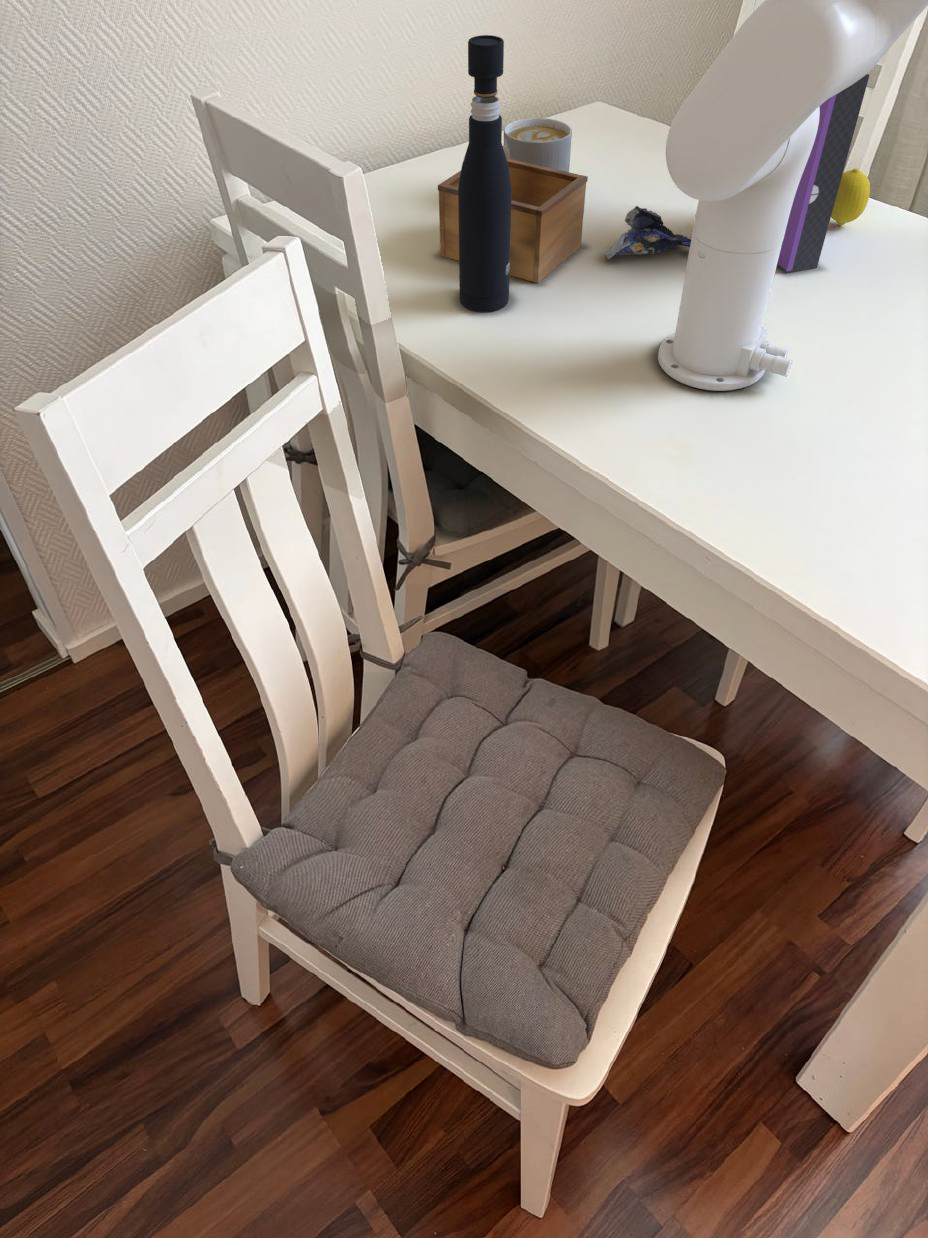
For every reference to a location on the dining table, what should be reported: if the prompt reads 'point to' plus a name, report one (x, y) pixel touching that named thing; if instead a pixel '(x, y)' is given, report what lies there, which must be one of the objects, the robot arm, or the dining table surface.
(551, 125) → the coffee mug
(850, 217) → the lemon
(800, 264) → the cereal box
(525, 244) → the wooden box
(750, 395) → the dining table surface
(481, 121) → the navy water bottle
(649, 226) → the snack package
